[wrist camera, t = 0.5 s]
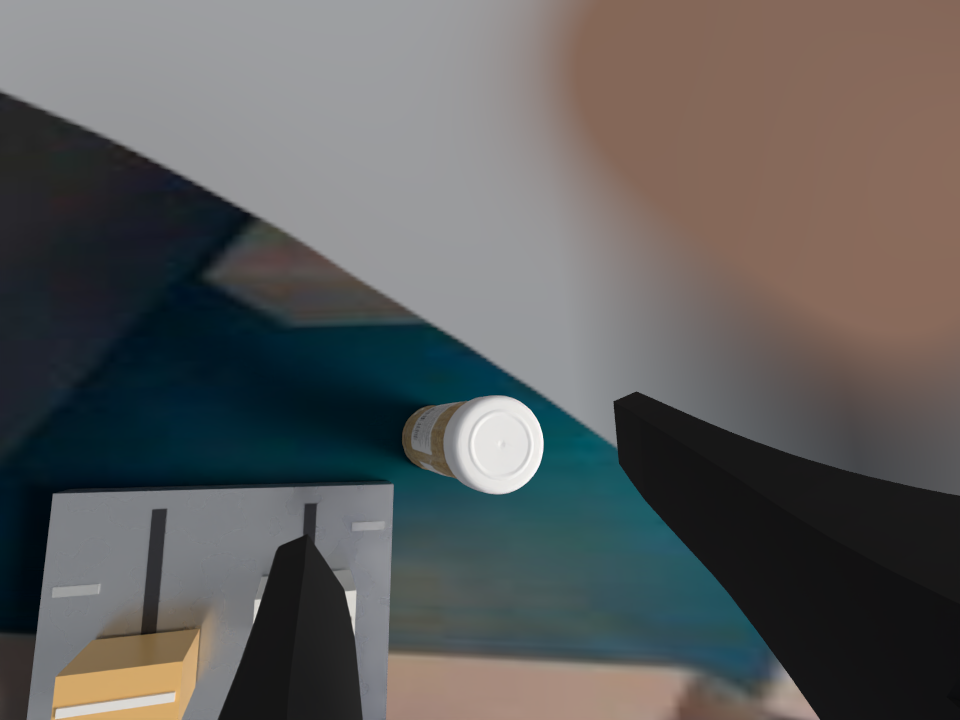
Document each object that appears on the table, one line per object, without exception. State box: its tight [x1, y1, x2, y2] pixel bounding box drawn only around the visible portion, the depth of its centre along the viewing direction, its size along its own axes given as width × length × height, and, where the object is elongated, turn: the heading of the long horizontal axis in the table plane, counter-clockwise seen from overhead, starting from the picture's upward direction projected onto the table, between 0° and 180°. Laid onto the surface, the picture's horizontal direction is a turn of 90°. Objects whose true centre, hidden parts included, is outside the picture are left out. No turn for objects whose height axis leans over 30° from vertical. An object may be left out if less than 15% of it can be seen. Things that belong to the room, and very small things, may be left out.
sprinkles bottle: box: [402, 396, 543, 494], centre depth 29 cm, size 5×5×13 cm
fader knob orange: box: [51, 629, 200, 720], centre depth 25 cm, size 3×5×4 cm, turn 89°
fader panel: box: [27, 481, 394, 720], centre depth 29 cm, size 15×18×2 cm
